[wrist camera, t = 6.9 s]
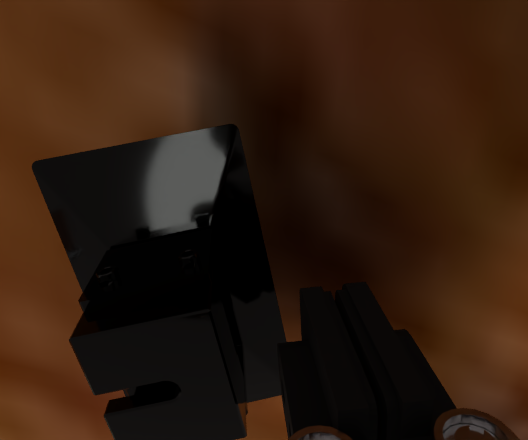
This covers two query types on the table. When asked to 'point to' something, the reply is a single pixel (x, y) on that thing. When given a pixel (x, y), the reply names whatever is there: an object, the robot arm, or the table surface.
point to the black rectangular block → (169, 282)
